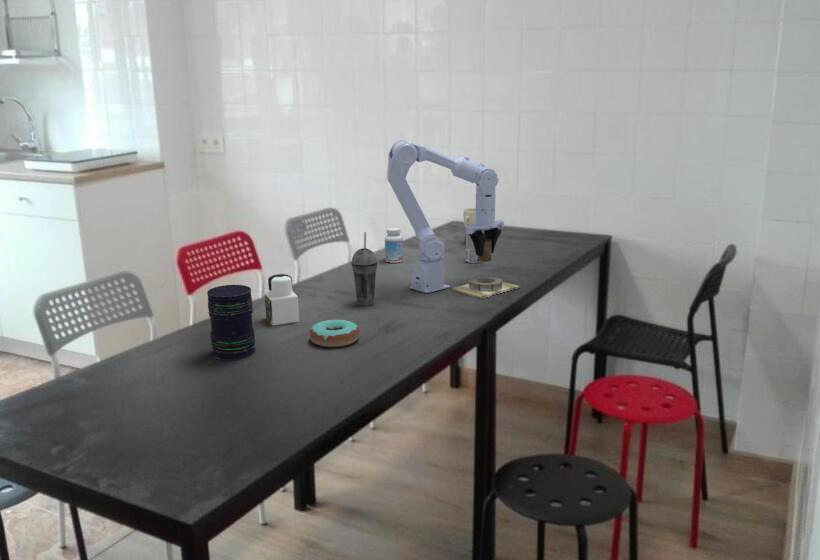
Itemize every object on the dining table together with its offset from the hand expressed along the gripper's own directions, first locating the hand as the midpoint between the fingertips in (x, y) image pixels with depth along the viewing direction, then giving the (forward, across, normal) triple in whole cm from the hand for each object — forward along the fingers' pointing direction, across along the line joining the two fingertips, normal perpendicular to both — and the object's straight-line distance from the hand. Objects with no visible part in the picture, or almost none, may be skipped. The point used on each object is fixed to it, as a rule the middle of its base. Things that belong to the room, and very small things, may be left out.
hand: (484, 254), depth 226 cm
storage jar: (+10, -84, +1) cm, 84 cm away
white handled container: (+10, -63, +13) cm, 65 cm away
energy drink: (+10, +19, +22) cm, 30 cm away
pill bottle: (+10, 0, +41) cm, 42 cm away
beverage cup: (+10, -38, +10) cm, 40 cm away
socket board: (+9, -4, -4) cm, 11 cm away
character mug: (+10, +38, +41) cm, 56 cm away
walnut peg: (+2, 0, 0) cm, 2 cm away
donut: (+10, -62, -9) cm, 63 cm away
